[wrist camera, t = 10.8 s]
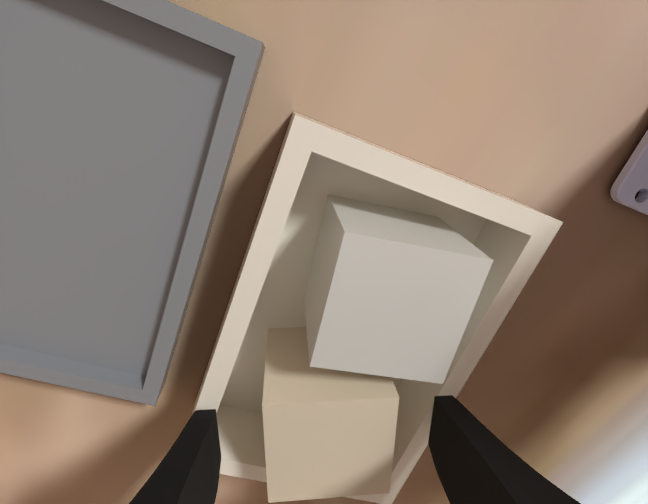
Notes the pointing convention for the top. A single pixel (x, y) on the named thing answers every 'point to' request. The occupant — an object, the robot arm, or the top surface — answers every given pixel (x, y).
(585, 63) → the top surface
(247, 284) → the cream dish
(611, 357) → the top surface
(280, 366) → the beige cube
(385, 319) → the light gray cube
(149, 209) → the slate tray
